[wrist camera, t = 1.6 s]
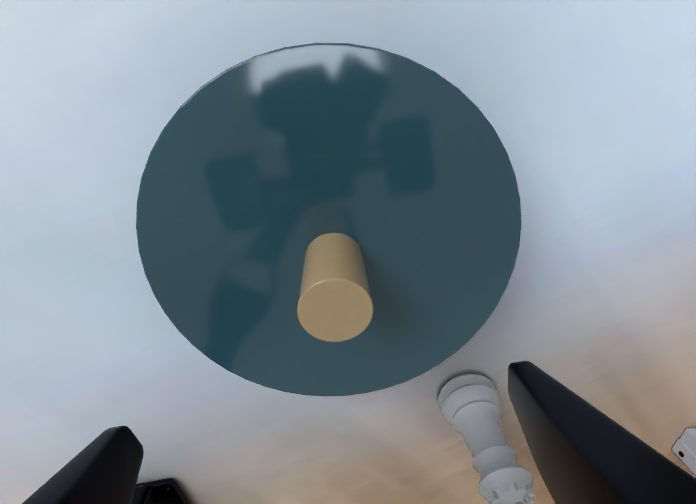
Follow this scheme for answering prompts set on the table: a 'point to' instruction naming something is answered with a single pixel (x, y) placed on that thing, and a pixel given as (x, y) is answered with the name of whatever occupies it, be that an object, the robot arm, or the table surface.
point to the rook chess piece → (486, 438)
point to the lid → (328, 219)
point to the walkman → (687, 448)
